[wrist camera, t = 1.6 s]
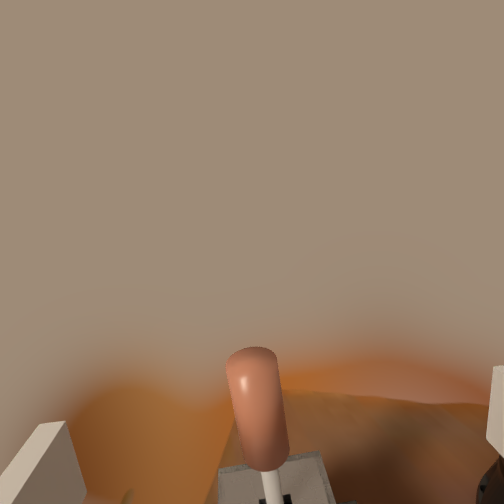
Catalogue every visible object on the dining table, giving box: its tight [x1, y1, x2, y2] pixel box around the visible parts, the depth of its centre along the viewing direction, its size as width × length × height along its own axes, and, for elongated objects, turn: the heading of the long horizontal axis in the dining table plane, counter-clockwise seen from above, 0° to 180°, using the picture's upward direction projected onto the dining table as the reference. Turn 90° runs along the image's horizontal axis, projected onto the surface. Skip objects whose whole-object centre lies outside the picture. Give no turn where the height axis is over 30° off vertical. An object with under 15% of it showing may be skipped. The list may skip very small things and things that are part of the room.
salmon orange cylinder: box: [226, 347, 289, 504], centre depth 26 cm, size 4×4×24 cm
